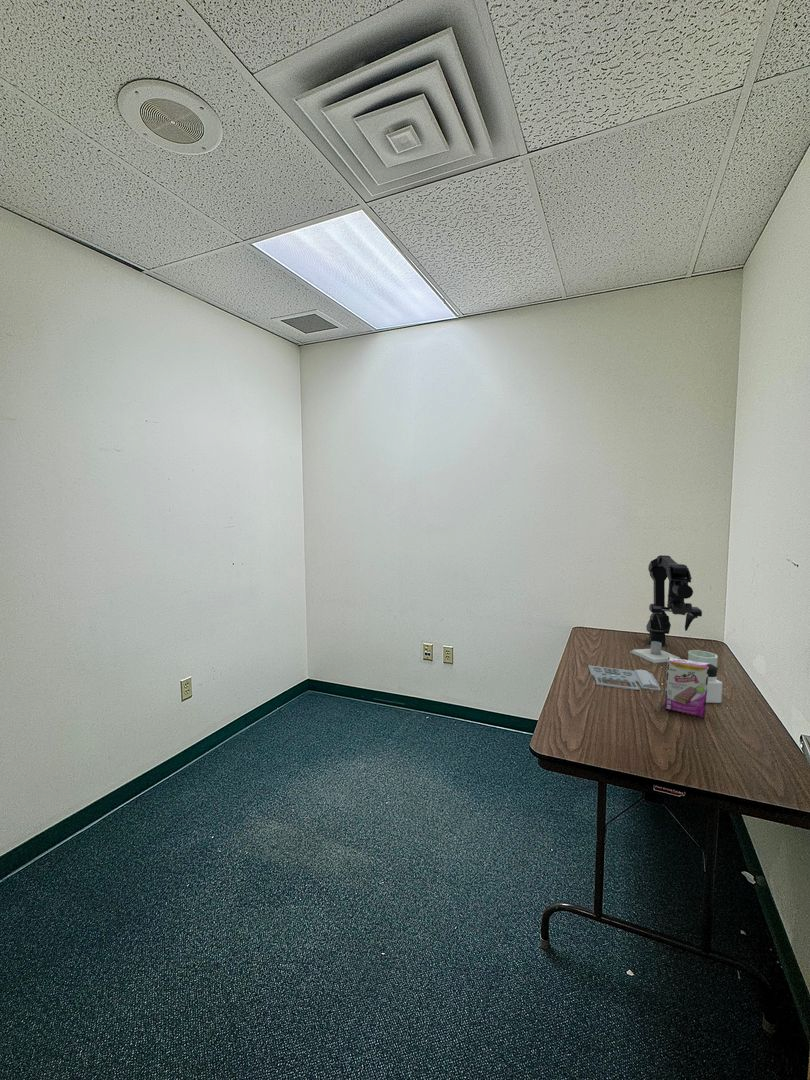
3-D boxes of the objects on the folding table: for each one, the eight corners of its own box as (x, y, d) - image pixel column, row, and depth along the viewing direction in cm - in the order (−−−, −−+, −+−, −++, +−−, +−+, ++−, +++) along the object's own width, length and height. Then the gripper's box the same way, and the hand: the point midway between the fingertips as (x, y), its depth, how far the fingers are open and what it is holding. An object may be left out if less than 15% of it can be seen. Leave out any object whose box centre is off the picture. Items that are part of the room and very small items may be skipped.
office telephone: (652, 669, 176) (665, 688, 156) (651, 675, 176) (664, 696, 157) (588, 661, 182) (593, 679, 163) (588, 668, 183) (593, 686, 164)
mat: (628, 652, 202) (628, 651, 202) (657, 650, 205) (657, 649, 205) (653, 664, 187) (653, 662, 187) (684, 661, 190) (684, 660, 190)
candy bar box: (664, 710, 144) (667, 660, 143) (664, 704, 148) (667, 656, 147) (705, 719, 139) (709, 667, 137) (704, 712, 143) (708, 662, 142)
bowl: (682, 662, 189) (682, 650, 189) (701, 661, 192) (702, 649, 191) (702, 671, 180) (703, 658, 179) (722, 669, 182) (723, 657, 181)
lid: (632, 651, 201) (632, 638, 200) (656, 650, 204) (657, 637, 203) (654, 661, 188) (654, 647, 188) (680, 660, 191) (681, 646, 190)
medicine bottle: (721, 703, 150) (724, 668, 149) (700, 702, 150) (702, 668, 149) (707, 694, 157) (710, 661, 156) (687, 693, 157) (689, 660, 156)
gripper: (655, 595, 186) (653, 632, 187) (707, 599, 180) (704, 637, 181) (650, 590, 196) (647, 625, 198) (699, 594, 190) (696, 629, 192)
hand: (673, 629), depth 192 cm, fingers open, 9 cm apart
